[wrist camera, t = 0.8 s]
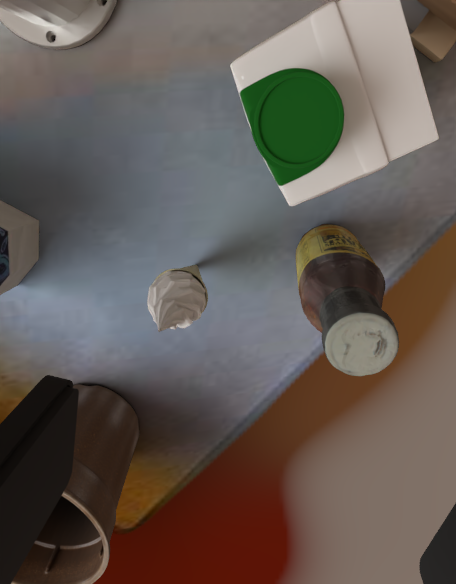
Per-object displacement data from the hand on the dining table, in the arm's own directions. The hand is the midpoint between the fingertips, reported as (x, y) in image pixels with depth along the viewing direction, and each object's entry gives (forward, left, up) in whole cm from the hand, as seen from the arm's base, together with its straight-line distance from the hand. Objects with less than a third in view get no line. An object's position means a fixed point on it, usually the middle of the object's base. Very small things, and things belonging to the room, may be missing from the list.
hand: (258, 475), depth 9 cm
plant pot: (-3, -35, -32) cm, 48 cm away
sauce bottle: (+7, 0, -32) cm, 33 cm away
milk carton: (-2, +9, -32) cm, 34 cm away
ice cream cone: (-3, -9, -32) cm, 34 cm away
